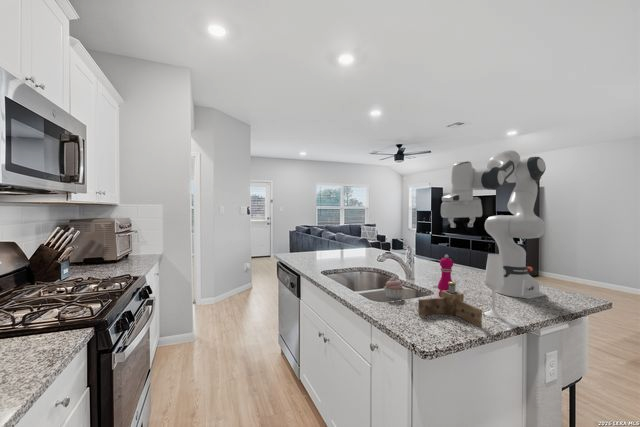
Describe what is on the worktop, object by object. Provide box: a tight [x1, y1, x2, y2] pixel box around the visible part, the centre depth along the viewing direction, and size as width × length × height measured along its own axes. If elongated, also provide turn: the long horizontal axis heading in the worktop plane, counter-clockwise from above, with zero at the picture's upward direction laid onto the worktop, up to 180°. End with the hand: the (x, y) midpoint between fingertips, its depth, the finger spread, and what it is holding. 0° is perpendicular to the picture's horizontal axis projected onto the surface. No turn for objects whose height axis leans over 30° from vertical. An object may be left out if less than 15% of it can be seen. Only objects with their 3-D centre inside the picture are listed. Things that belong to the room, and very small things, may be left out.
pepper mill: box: [437, 254, 454, 298], centre depth 140 cm, size 7×7×20 cm
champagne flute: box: [483, 253, 504, 319], centre depth 116 cm, size 7×7×24 cm
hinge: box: [417, 290, 483, 327], centre depth 111 cm, size 18×18×8 cm
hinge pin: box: [448, 281, 457, 294], centre depth 118 cm, size 3×3×8 cm
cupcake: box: [383, 276, 405, 301], centre depth 136 cm, size 9×9×10 cm
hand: (461, 227), depth 134 cm, fingers open, 8 cm apart
